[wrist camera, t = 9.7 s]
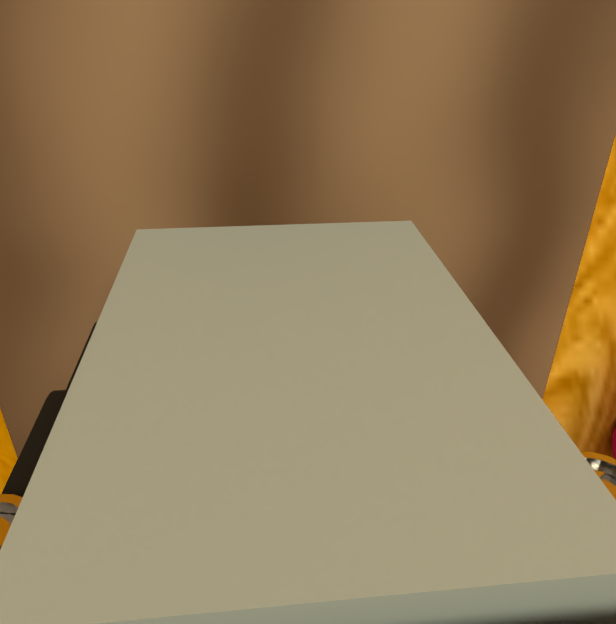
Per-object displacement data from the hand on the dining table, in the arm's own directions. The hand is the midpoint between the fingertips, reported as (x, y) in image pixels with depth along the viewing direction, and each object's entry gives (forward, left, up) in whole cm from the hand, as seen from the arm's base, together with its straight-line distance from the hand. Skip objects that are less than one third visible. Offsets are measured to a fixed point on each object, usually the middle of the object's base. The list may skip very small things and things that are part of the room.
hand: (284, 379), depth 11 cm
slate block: (0, 0, -2) cm, 2 cm away
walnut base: (0, 0, -6) cm, 6 cm away
